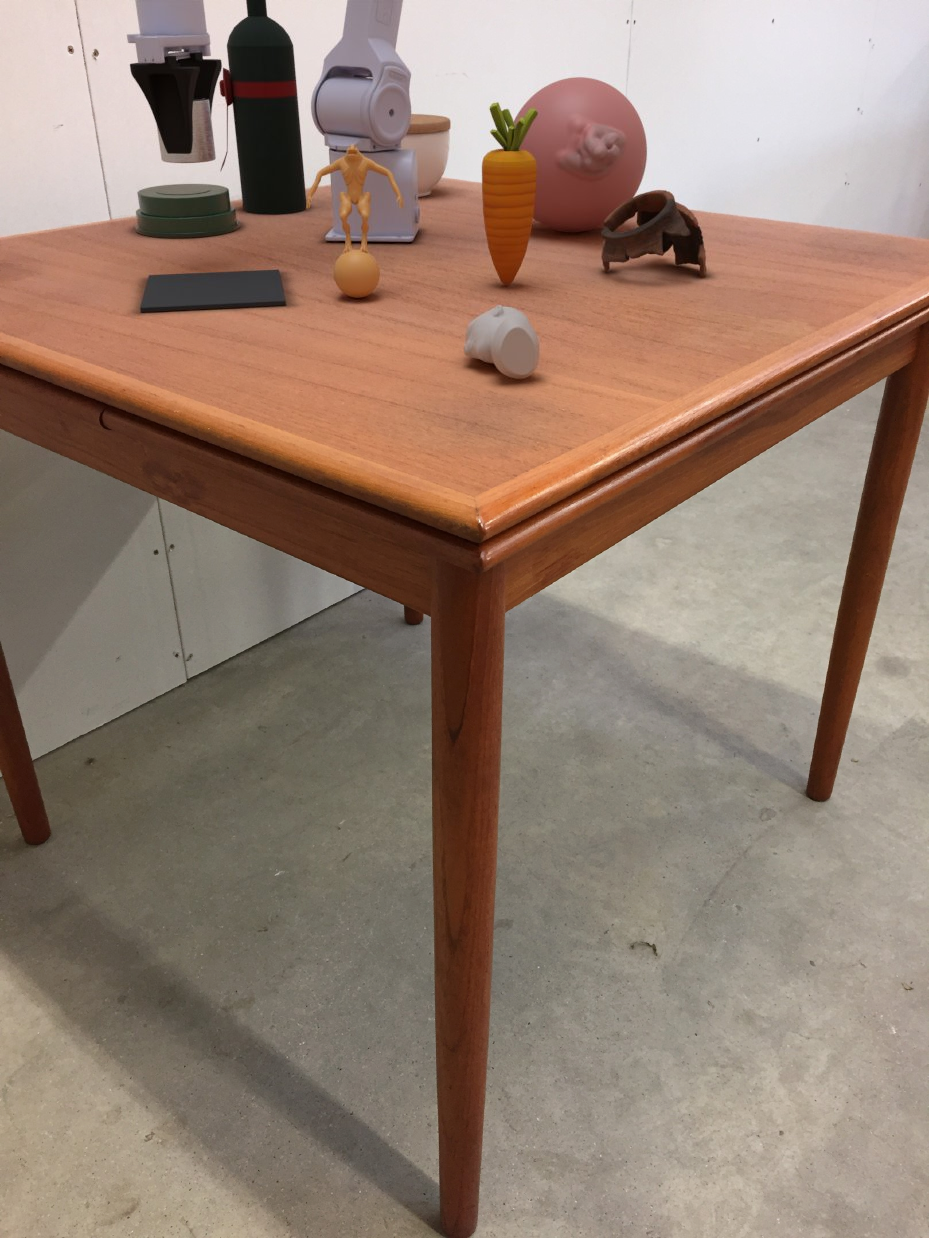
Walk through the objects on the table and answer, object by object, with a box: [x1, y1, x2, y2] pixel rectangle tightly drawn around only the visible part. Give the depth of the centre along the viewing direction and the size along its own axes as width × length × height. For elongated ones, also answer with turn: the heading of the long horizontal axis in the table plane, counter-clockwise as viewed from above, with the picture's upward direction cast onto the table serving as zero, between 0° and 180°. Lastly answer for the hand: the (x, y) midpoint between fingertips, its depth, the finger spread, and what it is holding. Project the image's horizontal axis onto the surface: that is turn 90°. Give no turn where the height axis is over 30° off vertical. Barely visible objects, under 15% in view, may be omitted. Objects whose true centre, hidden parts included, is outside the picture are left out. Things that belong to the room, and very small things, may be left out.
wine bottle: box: [218, 0, 307, 215], centre depth 118 cm, size 8×10×30 cm
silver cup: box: [156, 97, 217, 164], centre depth 92 cm, size 5×5×5 cm
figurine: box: [306, 145, 404, 299], centre depth 86 cm, size 8×6×12 cm
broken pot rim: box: [600, 189, 707, 278], centre depth 96 cm, size 12×10×8 cm
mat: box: [139, 269, 287, 313], centre depth 90 cm, size 12×12×1 cm
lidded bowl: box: [399, 113, 451, 198], centre depth 133 cm, size 13×13×11 cm
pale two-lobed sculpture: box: [463, 304, 540, 380], centre depth 71 cm, size 4×8×5 cm
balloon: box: [513, 76, 648, 233], centre depth 108 cm, size 15×20×15 cm
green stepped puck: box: [134, 183, 241, 239], centre depth 114 cm, size 12×12×4 cm
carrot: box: [481, 101, 538, 287], centre depth 88 cm, size 5×5×15 cm
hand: (188, 149), depth 93 cm, fingers closed on silver cup, 5 cm apart
